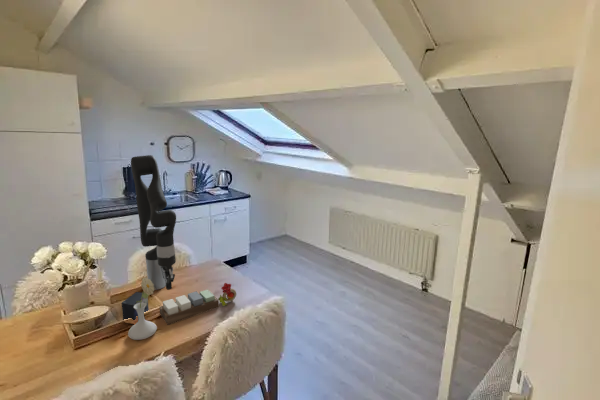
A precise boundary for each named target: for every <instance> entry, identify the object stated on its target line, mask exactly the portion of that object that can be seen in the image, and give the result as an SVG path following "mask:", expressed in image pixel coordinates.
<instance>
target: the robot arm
mask: <svg viewBox="0 0 600 400" xmlns="http://www.w3.org/2000/svg"><path fill="white" fill-rule="evenodd" d="M130 166H131V167H130V169H131V172H132V177H133V184H134V188H135V200H136V201H135V202H136V207H137V214H138V219H139V220H138V221H139V232H140V242H141V243H140V244H141V245H142V246H143V247H145V248H146V247H154V248H152V249H150V250H148V251H147V252H146V253H145V265H146V275H147V278H148V279H150V280H151V281H152V284H154V286H153V287H154V290H156V291H157V290H161V289H164V288H165V289H166V290H167V291H170V290H172V289H173V287H172V286H173V285H172V283H173V282H174V280H175V277H176V274H175V273H174V267H173V265H175V264H176V251H175V250H176V249H175V248H176V247H175V243H174V240H175V239H174V232H175V226H176V224H177V223H176V222H177V214H176V212H175V211H174V210H172V209H166V208H167V206H168V202H167V199H166V196H165V193H164V191H163V188H162V187H163V186H162V181H161V175H160V172H159V166H158V163H157V159H156V157H155V156H154V155H151V154H146V155H137V156H132V157H131V159H130ZM148 175H152V178H151V180H150V181H151V182H150V183H149V185H148V186H147V185H146V183H144V180H143V179H142V177H143V176H148ZM164 209H166V210H164ZM149 223H150V224H151V226H152V227H153V228H148V226H149ZM164 227H165V228H164ZM162 228H164V229H163V230H162Z"/></svg>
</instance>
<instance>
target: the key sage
mask: <svg viewBox="0 0 600 400" xmlns="http://www.w3.org/2000/svg"><path fill="white" fill-rule="evenodd" d="M199 294H200V295H201V296H202V297H203V300H204V301H205V302H206V303H207V302H210V301H213V300H215V297H216V296H215V294H213V292H212V291H210V290H209V289H204V290H200V291H199Z"/></svg>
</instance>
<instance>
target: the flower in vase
mask: <svg viewBox="0 0 600 400" xmlns="http://www.w3.org/2000/svg"><path fill="white" fill-rule="evenodd" d="M140 284H141V289H142V290H143V291H142V292H141V293H142V297H143V298H145V299H146V298H148V299H149V296H150V295H153V294H154V292H155V290H154V287H153V286H154V284H152V281H151V280H150V279H148V277H144V278H143V277H142V279H141V281H140ZM143 293H144V294H143ZM142 297H141V301H136V303H137V302H140V303H138V304H135V305H134V309H136V311H137V313H138V322H137V323H136V324H135V325H132V326H131V327H130V329H129V330H128V333H127V336H128V337H129V338H130V339H131V340H135V341H137V340H138V341H141V340H145V339H148V338H150V337H152V336H153V335H154V334H155V333H156V331H157V329H158V326H157V325H156V323H154V322H153V321H150V320H146V319H145V317H144V309H145V307H146V305H147V304H146V303H141V302H142Z"/></svg>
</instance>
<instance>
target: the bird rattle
mask: <svg viewBox="0 0 600 400" xmlns="http://www.w3.org/2000/svg"><path fill="white" fill-rule="evenodd" d="M220 289H221V290H222V294H220V295H219V297H218V298H217V299H218V300H219V302H220V303H221V306H222V307H224V306H228V304H227V303H228V302H233V301H234V300H235V298H237V291H236V290H235V289H234V288H232V284H231V283H227V282H224V284H223V286H221V288H220Z"/></svg>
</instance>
